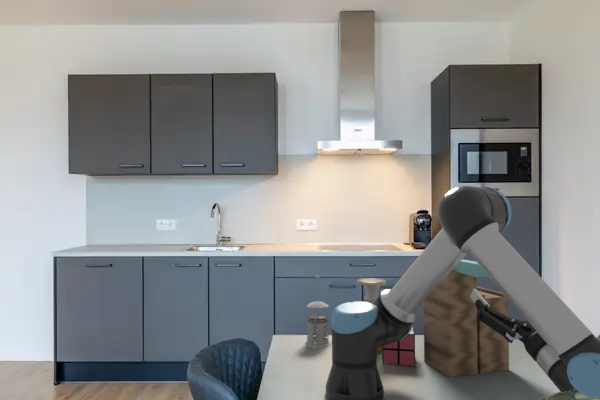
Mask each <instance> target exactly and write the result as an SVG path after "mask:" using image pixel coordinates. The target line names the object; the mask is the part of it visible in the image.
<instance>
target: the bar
mask: <svg viewBox="0 0 600 400" xmlns="http://www.w3.org/2000/svg"><path fill="white" fill-rule="evenodd" d="M454 269H455V272H457V273H462V274H466V275H471V276H475V277H476V278H485V277H487V278H488V277H489V276H488V275H487V273H486V272H485V271H484V270H483V269H482V268H481V266H480V265H479V264H478V263H477V262H476V261H475V260H474V261H473V260H469V259H464V258H463V259H462V260H461V261H460V262H459V263H458V264H457V265H456V267H455V268H454ZM489 278H490V277H489Z"/></svg>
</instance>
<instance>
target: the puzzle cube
mask: <svg viewBox="0 0 600 400" xmlns="http://www.w3.org/2000/svg"><path fill="white" fill-rule="evenodd" d="M381 354H382V355H381V357H382V364H383V365H385V366H386V365H387V366H388V365H389V366H391V365H392V366H402V367H415V366H416V334H415V328H414V326H413V327H412V329H411V331H410V333H409V334H408V335H407V336H406V337H404V338H403V339H402V340H399V341H398V342H394V343H390V344H388V345H385V346H382V353H381Z"/></svg>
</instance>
